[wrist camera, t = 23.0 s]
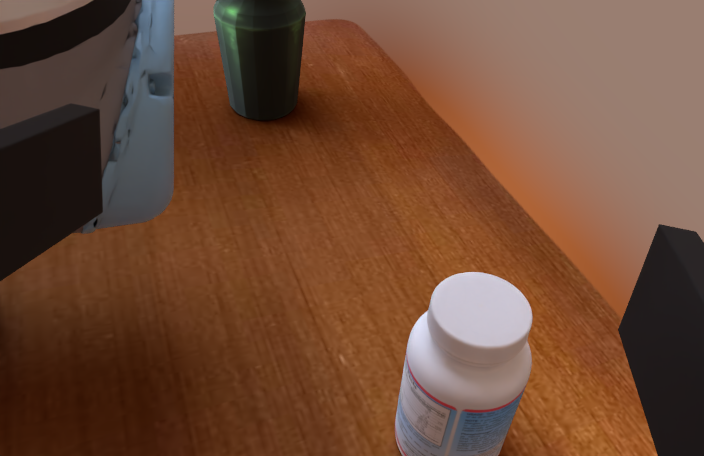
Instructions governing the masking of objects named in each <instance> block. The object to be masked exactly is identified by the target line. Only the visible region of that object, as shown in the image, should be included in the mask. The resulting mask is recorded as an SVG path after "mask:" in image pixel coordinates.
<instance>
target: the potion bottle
mask: <svg viewBox="0 0 704 456" xmlns="http://www.w3.org/2000/svg"><path fill="white" fill-rule="evenodd" d="M305 15H306V12H305V8H304V5H303V3H302V1H301V0H217V1H216V3H215V5H214V18H215V24H216V29H217V35H218V40H219V46H220V51H221V57H222V62H223V68H224V73H225V79H226V84H227V90H228V95H229V101H230V106H231V107H232V108H233V109H234V110H235V111H236V112H237V113H238V114H240V115H242V116H244V117H246V118H249V119H255V120H273V119H277V118H280V117H283V116H285V115H287V114H288V113H290V112H291V111H292V110H293V109H294V107H295V106H296V104H297V99H298V88H299V78H300V67H301V57H302V47H303V36H304V26H305Z"/></svg>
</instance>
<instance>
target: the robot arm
mask: <svg viewBox="0 0 704 456" xmlns="http://www.w3.org/2000/svg"><path fill="white" fill-rule="evenodd" d="M173 188H174V0H0V281H1V280H3V279H4V278H6V277H7V276H9V275H10V274H12V273H13V272H15V271H16V270H18V269H19V268H21V267H22V266H24V265H25V264H27V263H28V262H29V261H31V260H32V259H34V258H35V257H37V256H38V255H40V254H41V253H43V252H44V251H46V250H47V249H49V248H50V247H52V246H53V245H55V244H56V243H58V242H59V241H61V240H62V239H64V238H65V237H67V236H68V235H70V234H71V233H83V234H84V233H92V232H94V231H95V230H96V229H100V228H107V227H114V226H121V225H128V224H135V223H142V222H146V221H149V220H151V219H154V217H156V216H158V215H159V214H161V213H162V212H163V211H164V210H165V209H166V207H167V206H168V205H169V203H170V201H171V198H172V195H173ZM618 331H619V334H620V337H621V340H622V343H623V347H624V350H625V353H626V356H627V359H628V362H629V366H630V369H631V372H632V375H633V378H634V381H635V385H636V388H637V391H638V394H639V397H640V400H641V404H642V407H643V410H644V413H645V416H646V419H647V422H648V426H649V429H650V432H651V435H652V438H653V441H654V445H655V448H656V451H657V454H658V456H704V242H703V241H702V240H701V238H700V237H699V235H698V234H697V233H696V232H694V231H689V230H684V229H680V228H675V227H670V226H665V225H659V227H658V228H657V231H656V234H655V236H654V239H653V242H652V244H651V247H650V249H649V252H648V254H647V257H646V259H645V262H644V265H643V267H642V270H641V272H640V275H639V278H638V280H637V283H636V285H635V288H634V290H633V293H632V296H631V298H630V301H629V303H628V306H627V308H626V311H625V314H624V316H623V319H622V321H621V324H620V326H619V329H618Z"/></svg>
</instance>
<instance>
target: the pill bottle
mask: <svg viewBox="0 0 704 456" xmlns="http://www.w3.org/2000/svg"><path fill="white" fill-rule="evenodd" d="M531 325H532V311H531V307H530V305H529V303H528V301H527V299H526V298H525V296H524V295H523V294H522V293H521V292H520V291H519V290H518V289H517V288H516V287H515V286H513V285H512V284H510V283H509V282H507V281H506V280H504V279H501V278H499V277H496V276H494V275H490V274H486V273H480V272H466V273H460V274H456V275H453V276H450V277H448V278H447V279H445V280H443V281H442V282H441V283H440V284H439V285H438V286H437V287H436V289H435V290H434V292H433V294H432V297H431V301H430V306H429V309H428V311H427V312H425V313H424V314H423V315H422V316H421V317H420V318H419V319H418V321H417V322H416V323H415V325H414V327H413V329H412V331H411V333H410V337H409V341H408V345H407V351H406V357H405V363H404V370H403V376H402V381H401V388H400V394H399V400H398V407H397V413H396V420H395V436H396V441H397V445H398V448H399V450H400V452H401V454H402V456H498V455H499V453H500V451H501V448H502V445H503V443H504V440H505V438H506V435H507V432H508V430H509V427H510V425H511V422H512V420H513V417H514V414H515V412H516V409H517V407H518V405H519V402H520V399H521V397H522V394H523V392H524V389H525V387H526V384H527V382H528V379H529V375H530V372H531V365H532V357H531V351H530V347H529V344H528V341H527V339H528V334H529V332H530V329H531Z"/></svg>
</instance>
